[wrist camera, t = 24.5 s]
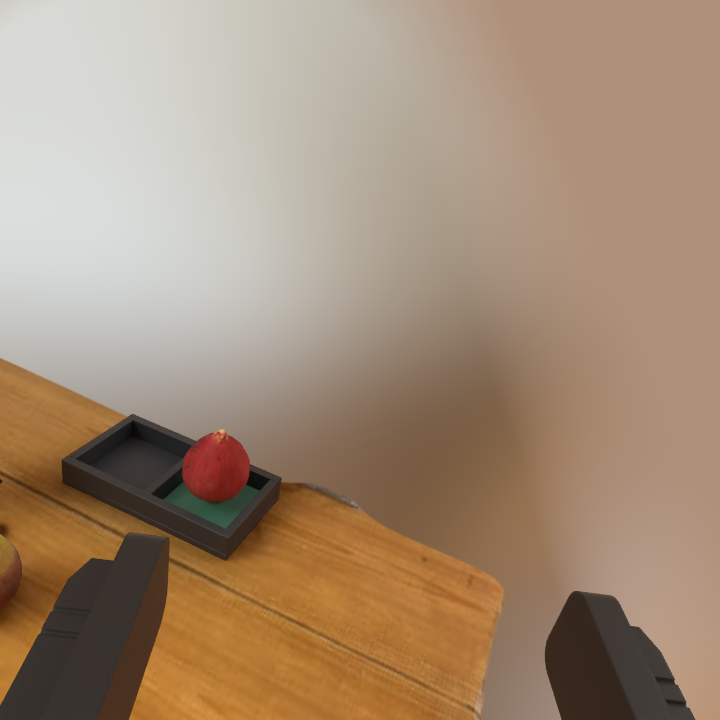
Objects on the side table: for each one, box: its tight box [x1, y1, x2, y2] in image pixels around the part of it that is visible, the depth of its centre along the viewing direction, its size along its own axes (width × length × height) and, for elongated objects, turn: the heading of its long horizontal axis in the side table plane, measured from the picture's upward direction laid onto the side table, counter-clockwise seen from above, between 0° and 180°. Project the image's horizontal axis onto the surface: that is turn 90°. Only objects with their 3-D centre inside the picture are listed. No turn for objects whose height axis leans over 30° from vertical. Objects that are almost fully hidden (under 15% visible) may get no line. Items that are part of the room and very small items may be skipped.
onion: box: [182, 429, 250, 503], centre depth 52 cm, size 6×6×8 cm
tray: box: [62, 414, 282, 560], centre depth 55 cm, size 9×17×3 cm, turn 68°
